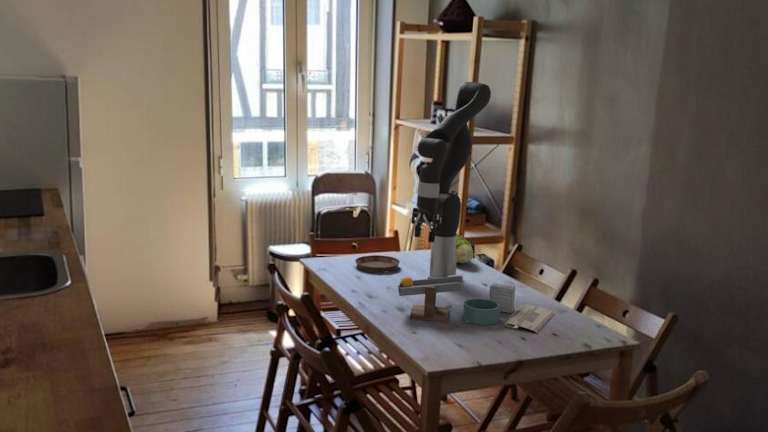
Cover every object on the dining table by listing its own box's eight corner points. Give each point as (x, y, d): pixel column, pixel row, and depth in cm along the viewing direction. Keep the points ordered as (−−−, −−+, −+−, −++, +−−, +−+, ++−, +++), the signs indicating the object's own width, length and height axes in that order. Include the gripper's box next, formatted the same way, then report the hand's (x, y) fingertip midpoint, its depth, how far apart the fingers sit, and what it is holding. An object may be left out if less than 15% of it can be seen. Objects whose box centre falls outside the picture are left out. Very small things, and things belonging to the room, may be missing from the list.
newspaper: (519, 308, 242) (520, 301, 241) (554, 318, 237) (555, 311, 236) (497, 327, 222) (498, 320, 221) (534, 339, 217) (536, 332, 216)
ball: (407, 286, 232) (407, 274, 231) (415, 288, 229) (415, 276, 228) (398, 288, 230) (398, 276, 229) (406, 291, 227) (406, 279, 226)
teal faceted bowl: (478, 310, 236) (479, 296, 235) (506, 320, 227) (507, 305, 226) (455, 317, 229) (456, 302, 228) (482, 327, 220) (484, 312, 219)
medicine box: (513, 310, 238) (515, 285, 236) (511, 314, 234) (513, 289, 232) (490, 306, 240) (492, 282, 239) (487, 310, 236) (489, 285, 235)
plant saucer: (348, 271, 276) (348, 263, 275) (363, 260, 292) (363, 252, 292) (392, 276, 271) (392, 269, 270) (404, 265, 288) (404, 257, 287)
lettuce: (455, 270, 282) (456, 242, 280) (433, 256, 301) (434, 231, 299) (480, 268, 286) (482, 241, 284) (457, 255, 305) (459, 229, 303)
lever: (404, 286, 241) (402, 272, 240) (463, 281, 238) (461, 266, 237) (399, 301, 226) (397, 285, 225) (462, 295, 223) (460, 280, 222)
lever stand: (412, 307, 236) (414, 275, 234) (448, 310, 235) (450, 278, 233) (409, 319, 225) (411, 285, 223) (447, 322, 224) (449, 288, 222)
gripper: (448, 198, 247) (444, 243, 250) (425, 191, 259) (421, 234, 262) (431, 198, 243) (427, 244, 246) (408, 191, 255) (404, 235, 258)
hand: (424, 239), depth 254 cm, fingers open, 8 cm apart
